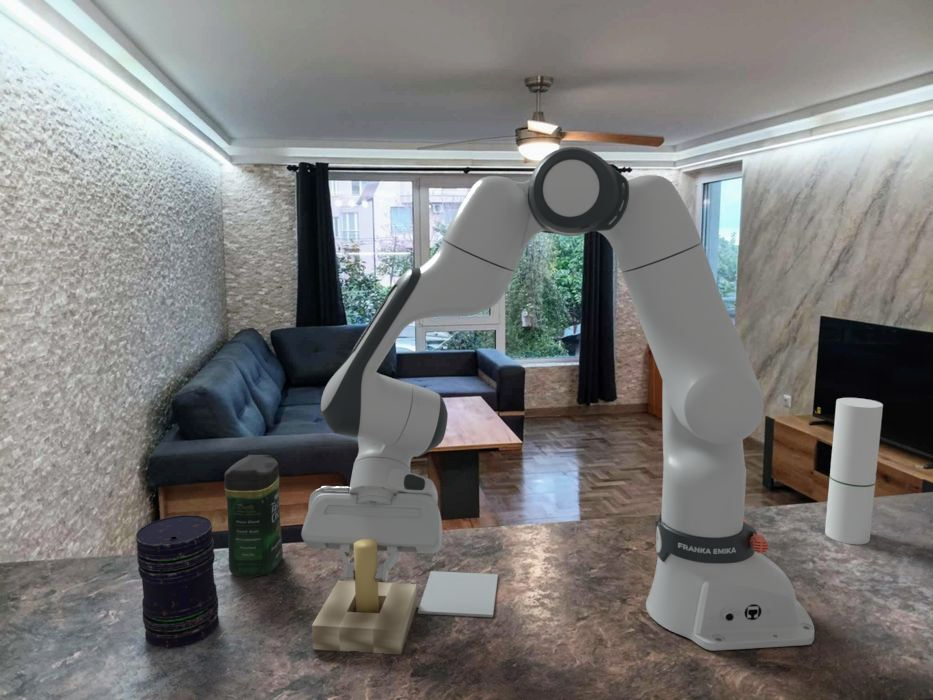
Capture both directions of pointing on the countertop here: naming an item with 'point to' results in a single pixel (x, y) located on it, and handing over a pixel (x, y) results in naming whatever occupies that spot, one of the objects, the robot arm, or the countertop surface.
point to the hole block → (365, 620)
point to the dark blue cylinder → (177, 581)
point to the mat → (459, 594)
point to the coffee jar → (253, 516)
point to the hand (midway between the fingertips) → (365, 580)
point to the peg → (366, 576)
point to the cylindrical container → (853, 470)
